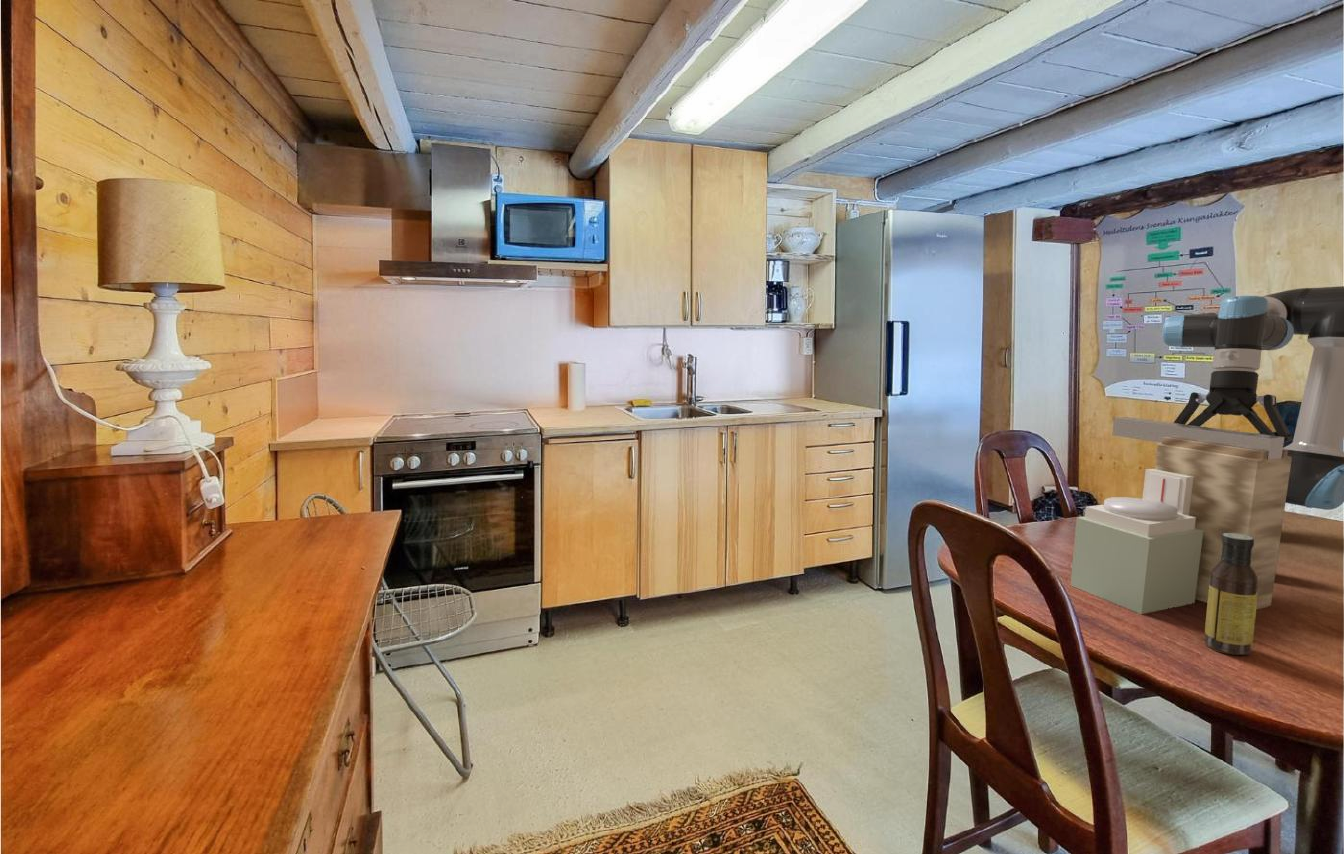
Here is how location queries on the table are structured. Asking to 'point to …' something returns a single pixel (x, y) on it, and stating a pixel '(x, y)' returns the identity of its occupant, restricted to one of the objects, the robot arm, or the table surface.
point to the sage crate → (1136, 566)
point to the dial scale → (1150, 506)
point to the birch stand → (1232, 503)
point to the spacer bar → (1197, 435)
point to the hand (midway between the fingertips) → (1222, 471)
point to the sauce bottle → (1232, 598)
